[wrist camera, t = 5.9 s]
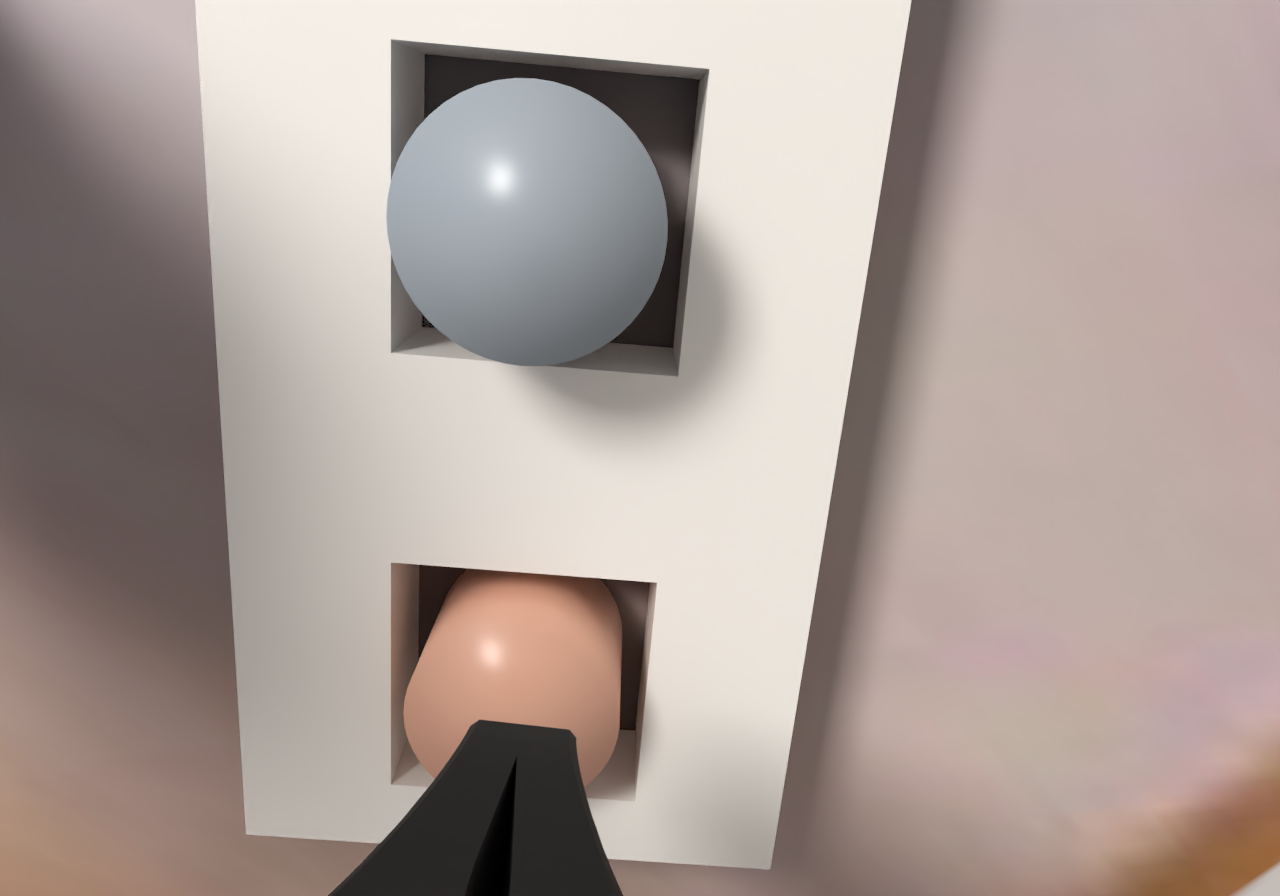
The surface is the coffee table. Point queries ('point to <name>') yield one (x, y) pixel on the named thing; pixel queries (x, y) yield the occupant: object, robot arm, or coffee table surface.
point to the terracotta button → (519, 664)
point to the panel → (534, 399)
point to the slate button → (527, 222)
